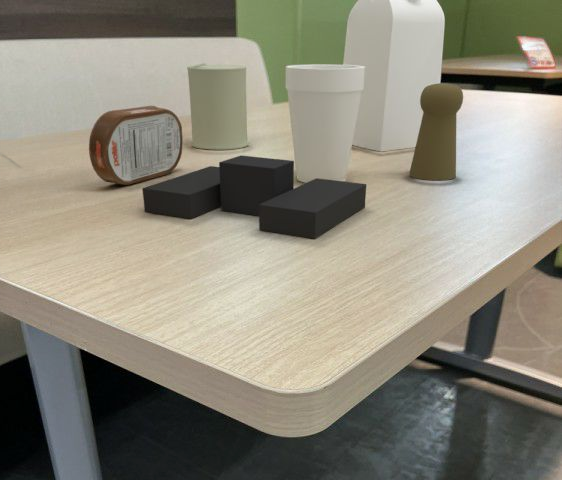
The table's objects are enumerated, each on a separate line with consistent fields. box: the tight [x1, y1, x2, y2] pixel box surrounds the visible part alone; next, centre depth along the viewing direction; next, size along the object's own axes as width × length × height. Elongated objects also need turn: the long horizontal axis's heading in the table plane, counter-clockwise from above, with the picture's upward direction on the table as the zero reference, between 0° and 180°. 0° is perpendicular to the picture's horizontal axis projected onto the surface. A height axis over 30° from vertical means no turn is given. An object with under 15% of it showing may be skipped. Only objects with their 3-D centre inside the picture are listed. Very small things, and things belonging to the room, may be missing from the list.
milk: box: [342, 0, 446, 152], centre depth 98 cm, size 12×12×26 cm
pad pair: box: [141, 165, 367, 240], centre depth 67 cm, size 20×13×2 cm, turn 62°
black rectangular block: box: [218, 155, 295, 217], centre depth 66 cm, size 6×4×5 cm
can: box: [186, 62, 249, 151], centre depth 99 cm, size 9×9×12 cm
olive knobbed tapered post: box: [409, 82, 464, 181], centre depth 80 cm, size 6×6×11 cm
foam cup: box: [285, 63, 365, 184], centre depth 77 cm, size 10×9×13 cm
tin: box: [88, 105, 184, 186], centre depth 78 cm, size 15×3×8 cm, turn 150°
